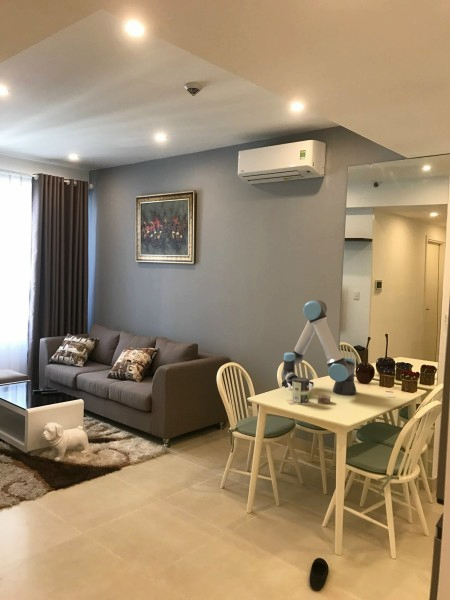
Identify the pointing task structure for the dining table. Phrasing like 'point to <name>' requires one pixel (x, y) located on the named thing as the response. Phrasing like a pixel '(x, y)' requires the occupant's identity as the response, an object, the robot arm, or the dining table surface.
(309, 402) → the letter
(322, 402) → the walnut block
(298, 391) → the coffee can
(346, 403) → the dining table surface
